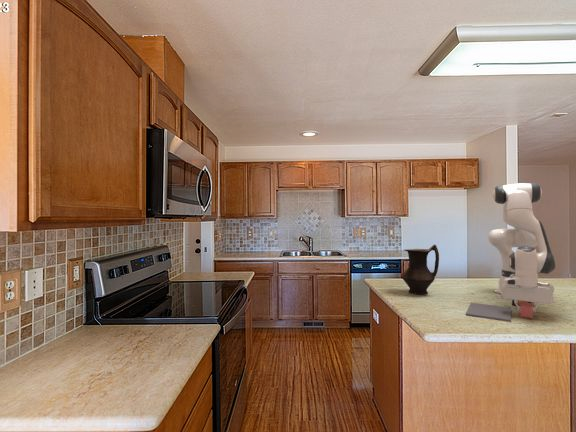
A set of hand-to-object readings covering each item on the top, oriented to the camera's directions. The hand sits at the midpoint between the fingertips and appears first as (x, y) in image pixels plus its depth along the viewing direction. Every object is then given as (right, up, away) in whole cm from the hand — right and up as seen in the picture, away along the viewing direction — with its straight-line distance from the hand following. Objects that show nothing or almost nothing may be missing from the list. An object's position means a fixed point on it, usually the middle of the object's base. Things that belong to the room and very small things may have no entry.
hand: (526, 310), depth 161 cm
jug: (-33, -3, +44) cm, 55 cm away
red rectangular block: (0, -2, 0) cm, 2 cm away
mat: (-14, -3, +6) cm, 15 cm away
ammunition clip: (+8, -3, +15) cm, 17 cm away
